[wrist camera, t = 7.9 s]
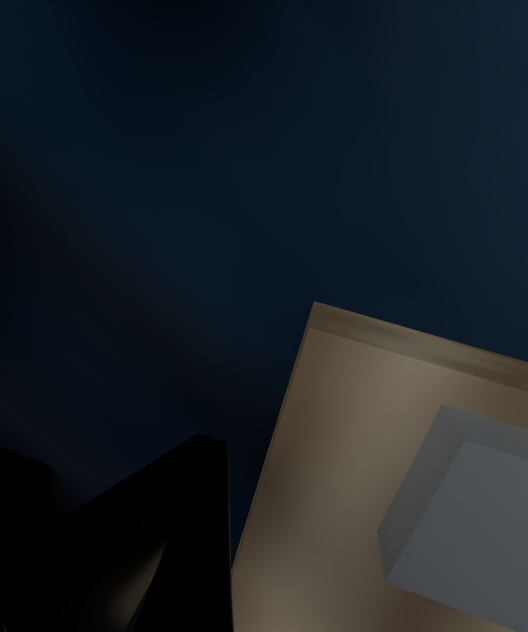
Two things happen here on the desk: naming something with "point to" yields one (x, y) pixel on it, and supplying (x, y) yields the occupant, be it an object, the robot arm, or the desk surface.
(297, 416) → the birch plate
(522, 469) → the slate grey block
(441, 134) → the desk surface
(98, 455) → the desk surface
